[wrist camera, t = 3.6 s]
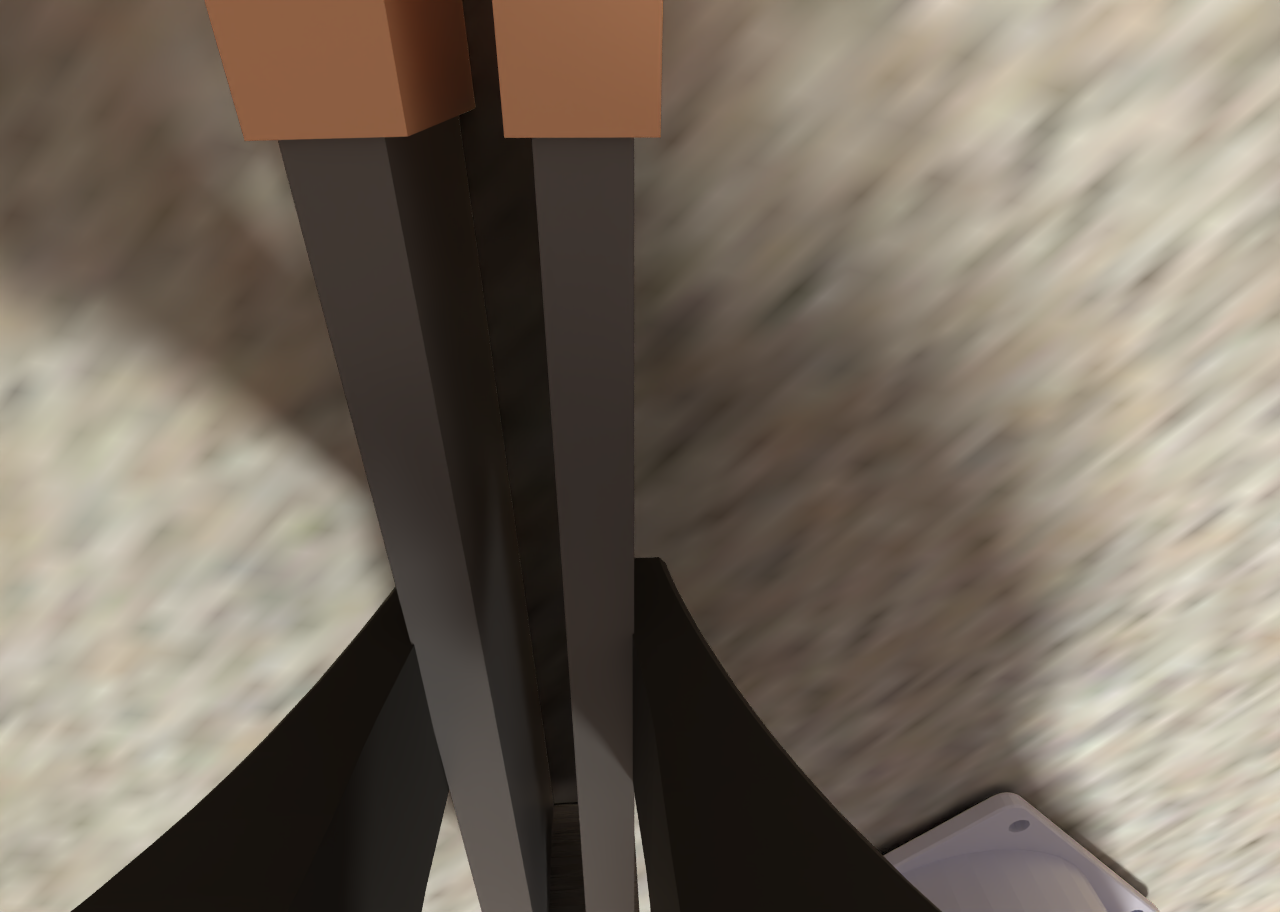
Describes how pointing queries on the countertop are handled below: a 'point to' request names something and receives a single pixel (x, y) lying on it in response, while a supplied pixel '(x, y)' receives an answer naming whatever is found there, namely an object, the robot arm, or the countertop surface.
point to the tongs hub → (571, 863)
